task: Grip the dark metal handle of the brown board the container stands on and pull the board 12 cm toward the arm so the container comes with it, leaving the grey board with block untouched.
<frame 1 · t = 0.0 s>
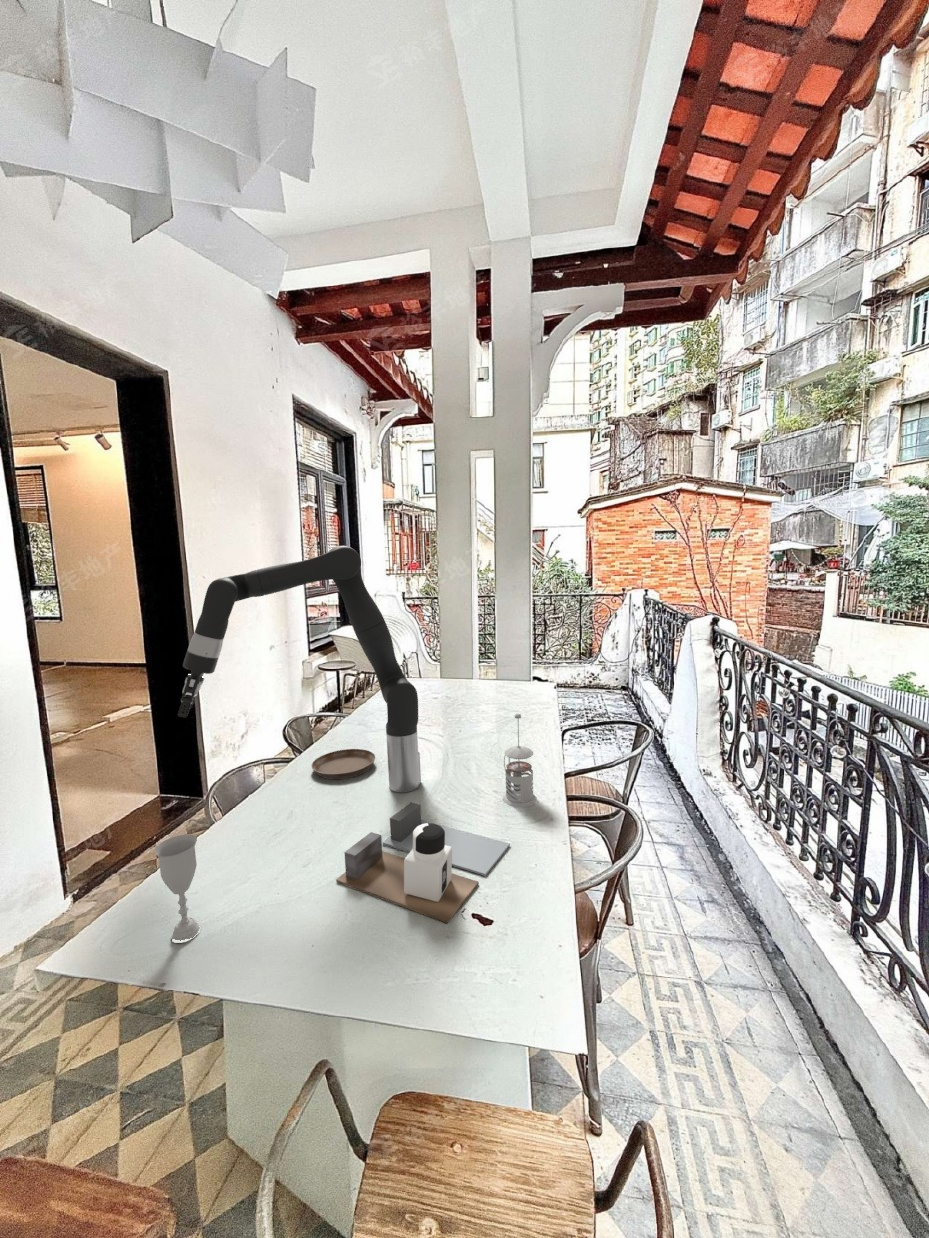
hand: (184, 712, 132), 31 cm above the table, tool tilted 20°, fingers open, 8 cm apart
chalice: (186, 934, 97), on the table
plant saucer: (344, 770, 171), on the table
brown board: (406, 869, 109), point 3 cm above the table, slide at 0.1 cm, touching container
french press: (518, 798, 147), on the table
grey board with block: (445, 833, 123), point 3 cm above the table, slide at 0.0 cm
container: (428, 887, 107), point 1 cm above the table, touching brown board
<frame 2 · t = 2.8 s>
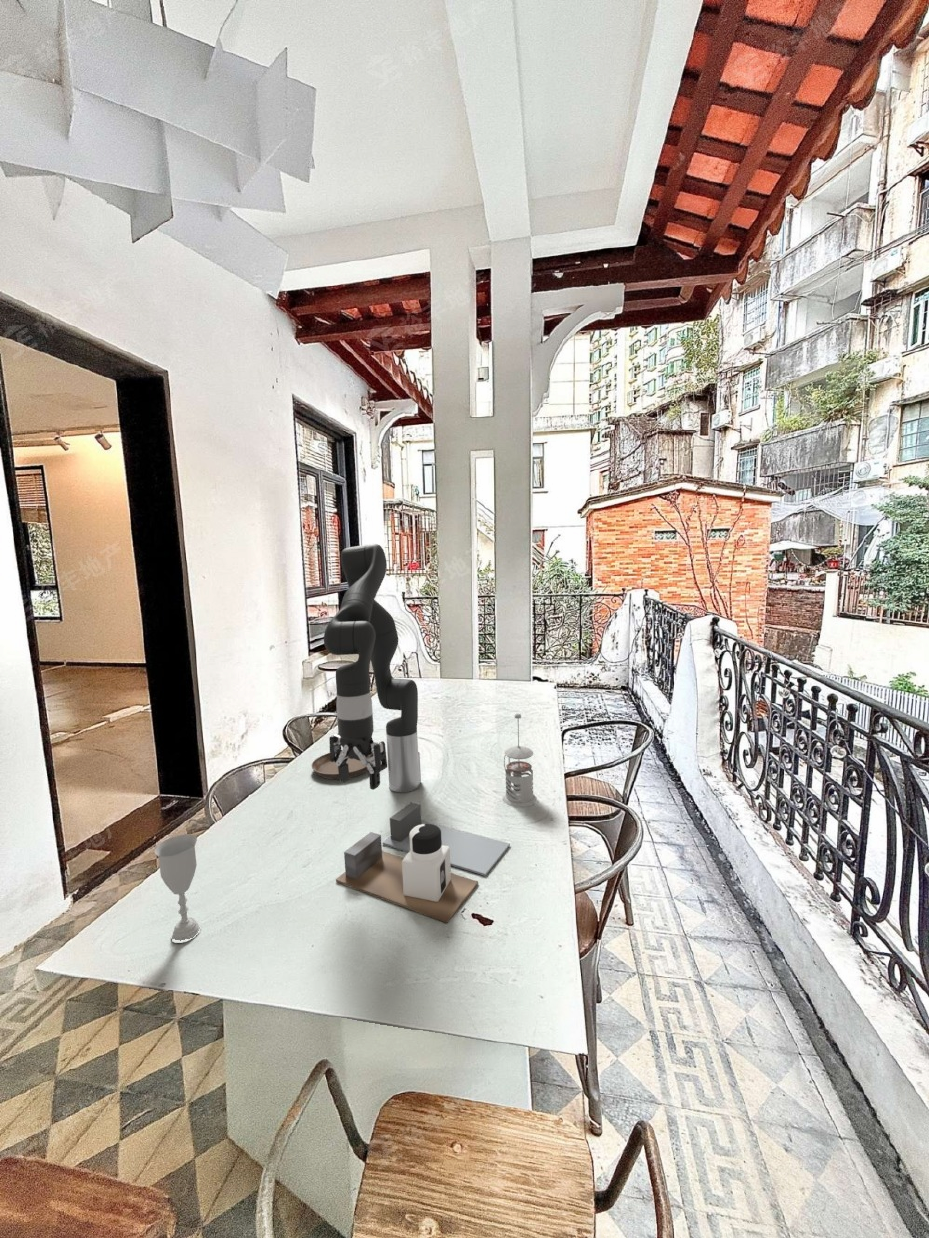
hand: (359, 784, 113), 20 cm above the table, tool pointing down, fingers open, 8 cm apart
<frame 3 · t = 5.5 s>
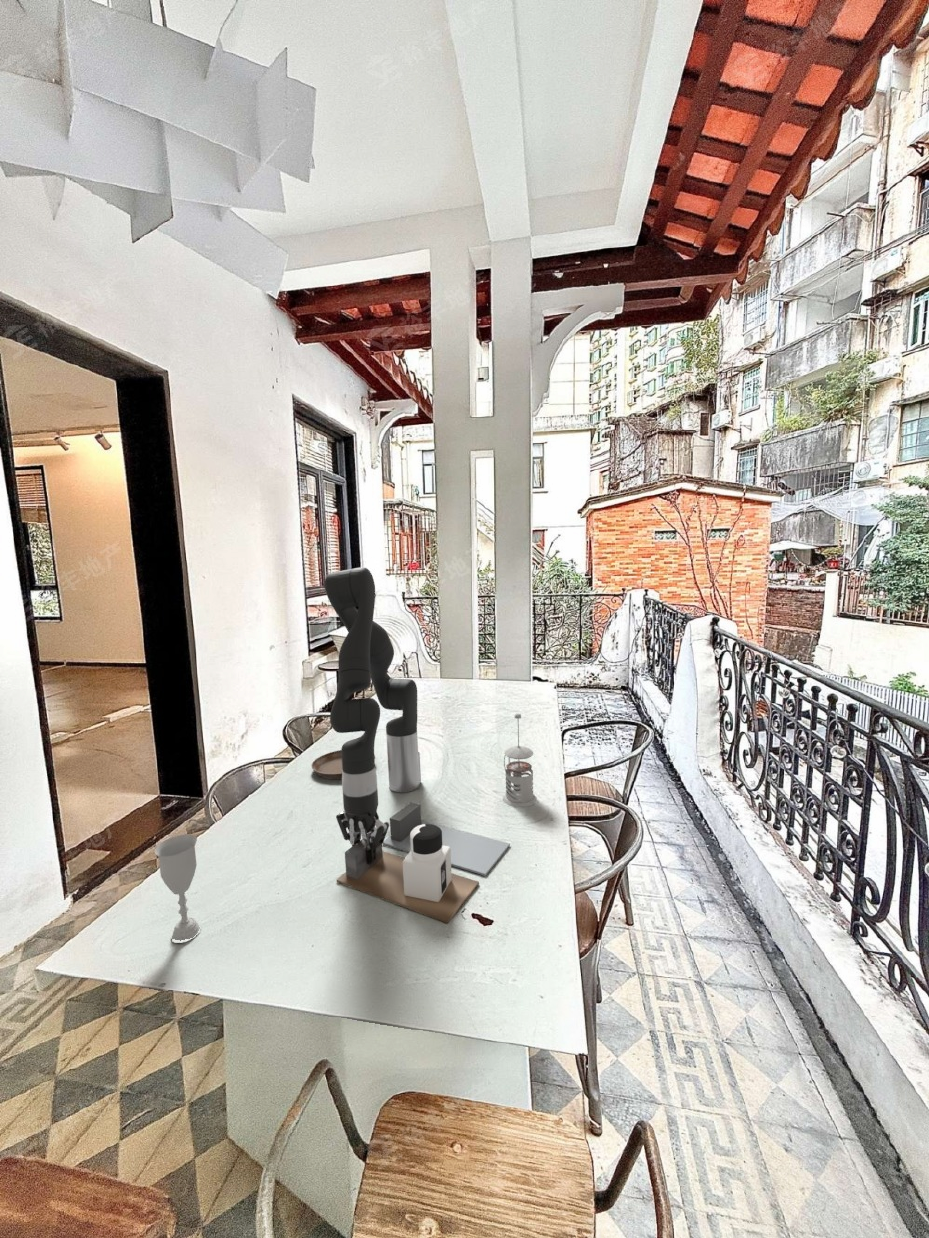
hand: (364, 860, 115), 2 cm above the table, tool pointing down, fingers closed on brown board, 3 cm apart
brown board: (406, 869, 109), point 3 cm above the table, slide at 0.0 cm, touching container, gripper
everything else where it was.
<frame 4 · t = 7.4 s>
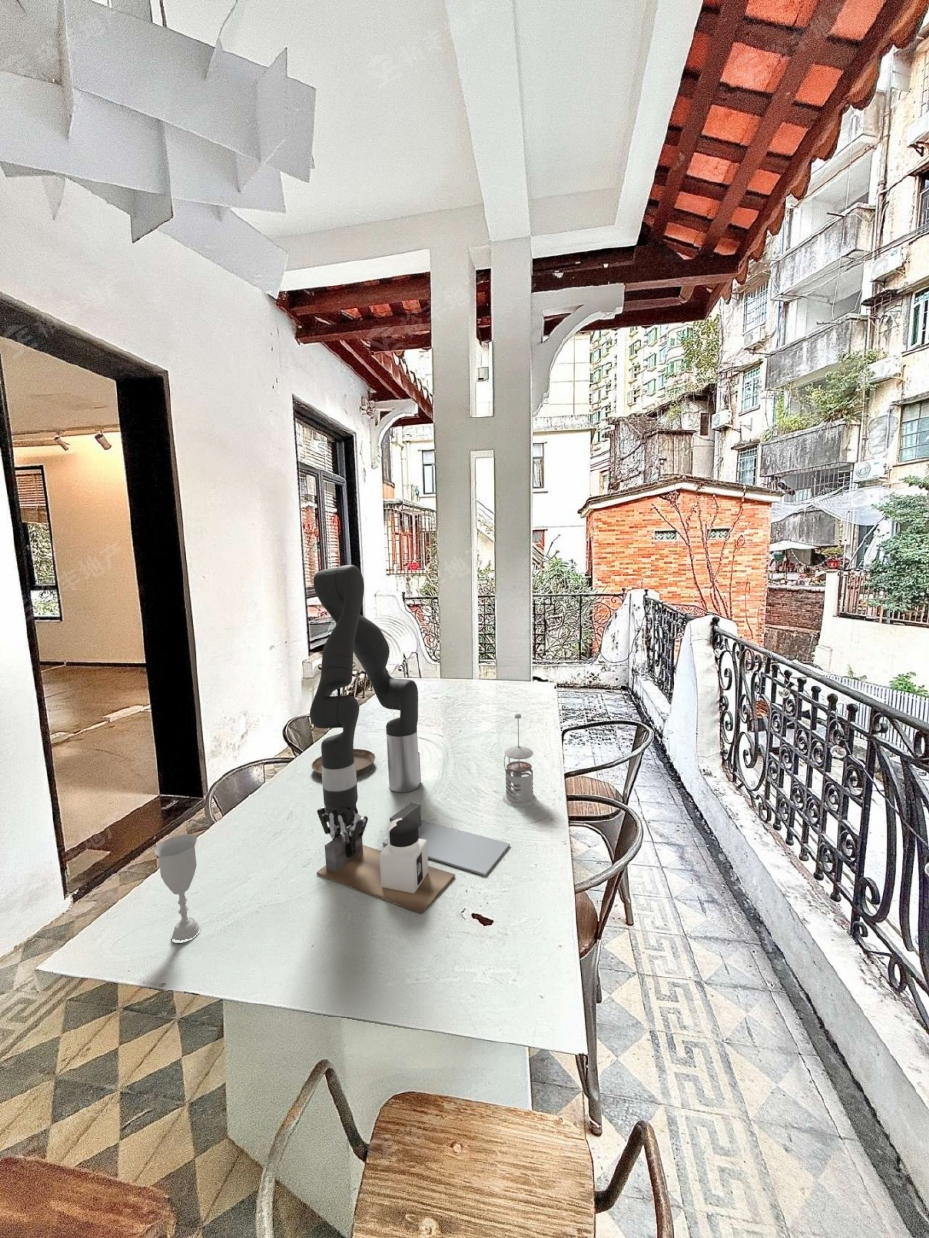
hand: (344, 853, 118), 2 cm above the table, tool pointing down, fingers closed on brown board, 3 cm apart
brown board: (384, 862, 112), point 3 cm above the table, slide at 5.9 cm, touching container, gripper
container: (405, 880, 110), resting on brown board
everything else where it was.
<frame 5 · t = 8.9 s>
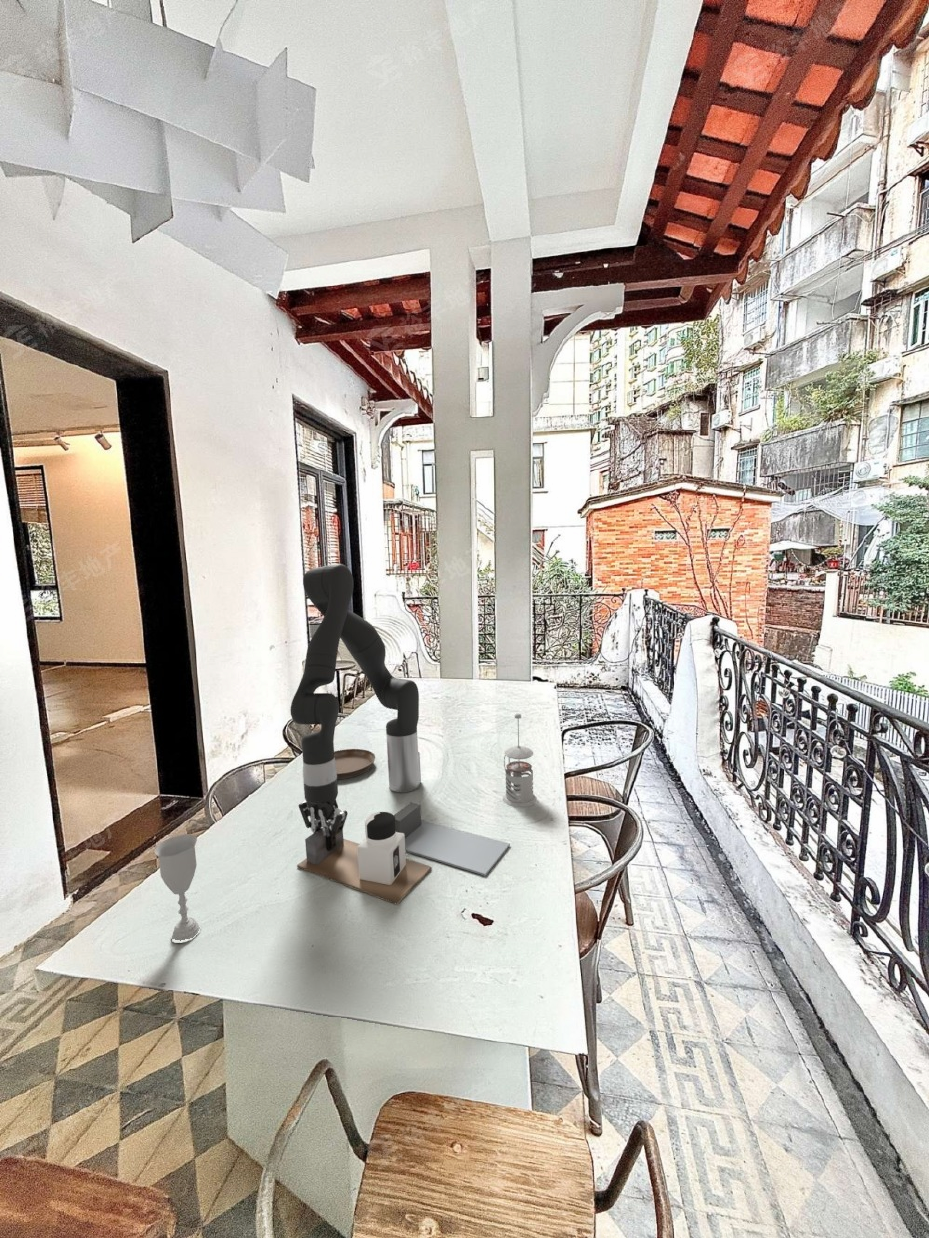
hand: (325, 846, 121), 2 cm above the table, tool pointing down, fingers closed on brown board, 3 cm apart
brown board: (363, 855, 115), point 3 cm above the table, slide at 11.9 cm, touching container, gripper
container: (383, 873, 113), resting on brown board
everything else where it was.
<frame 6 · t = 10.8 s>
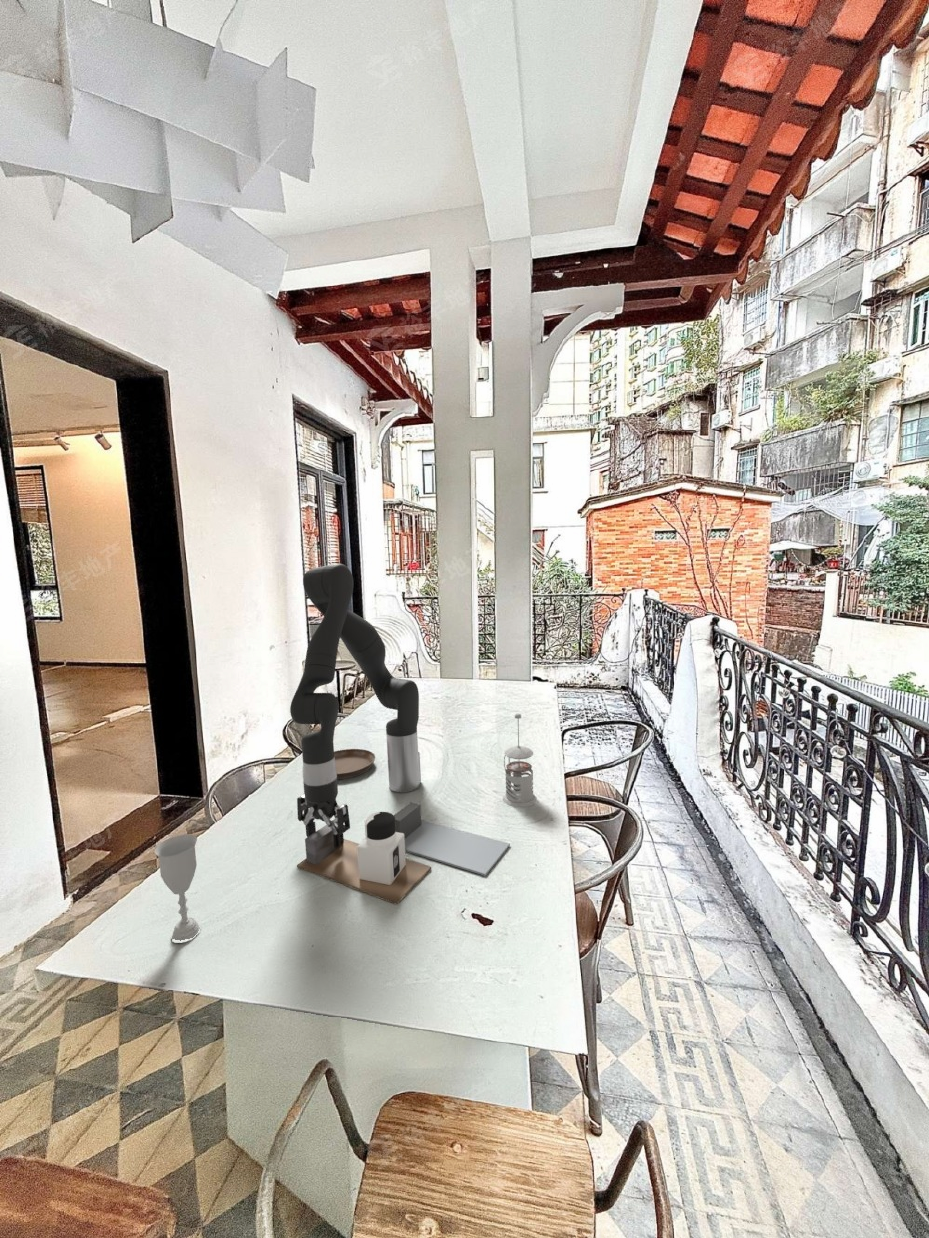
hand: (324, 842, 121), 3 cm above the table, tool pointing down, fingers open, 8 cm apart
brown board: (362, 855, 115), point 3 cm above the table, slide at 12.0 cm, touching container
everything else where it was.
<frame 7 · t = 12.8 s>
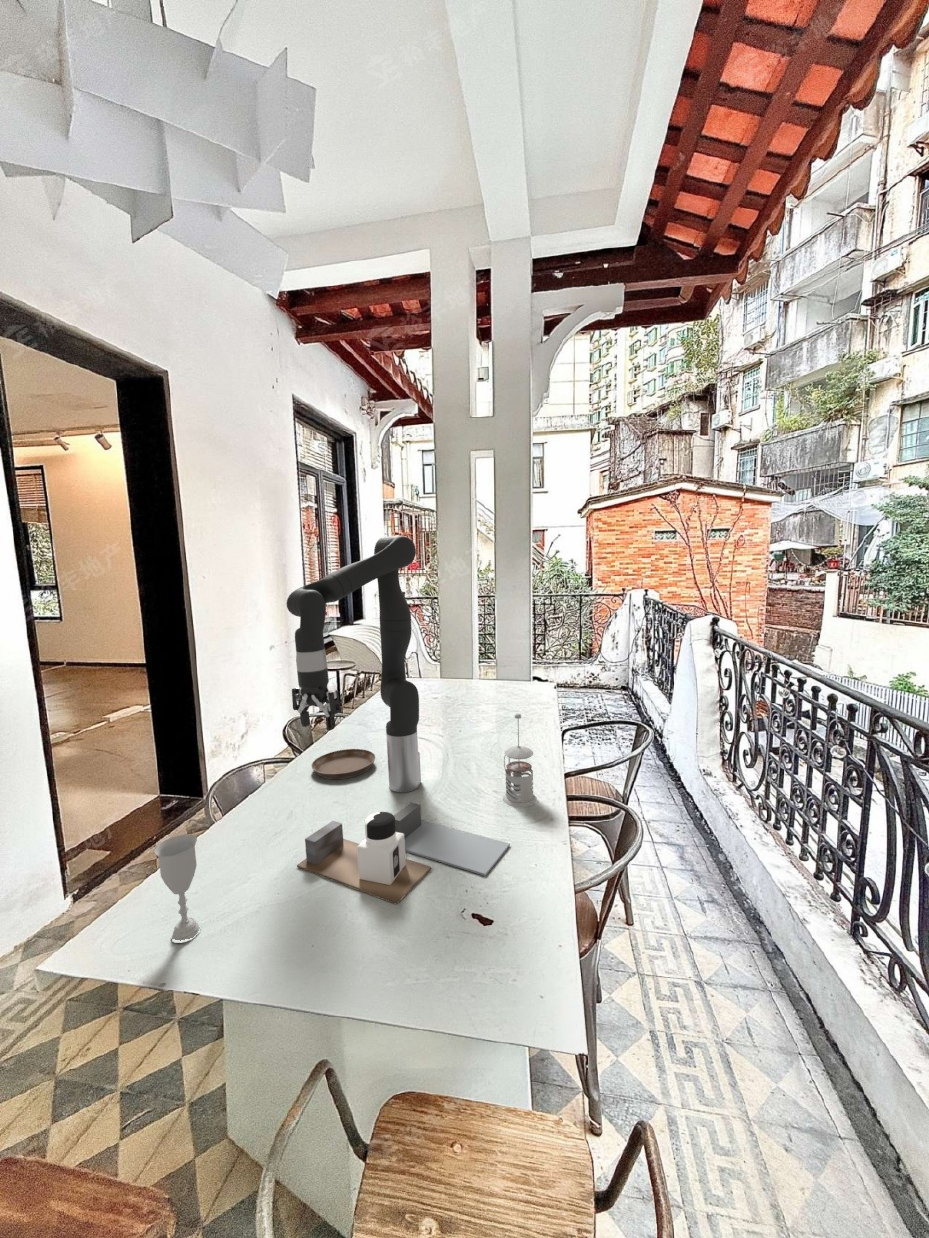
hand: (318, 727, 134), 26 cm above the table, tool pointing down, fingers open, 8 cm apart
nothing on the table moved.
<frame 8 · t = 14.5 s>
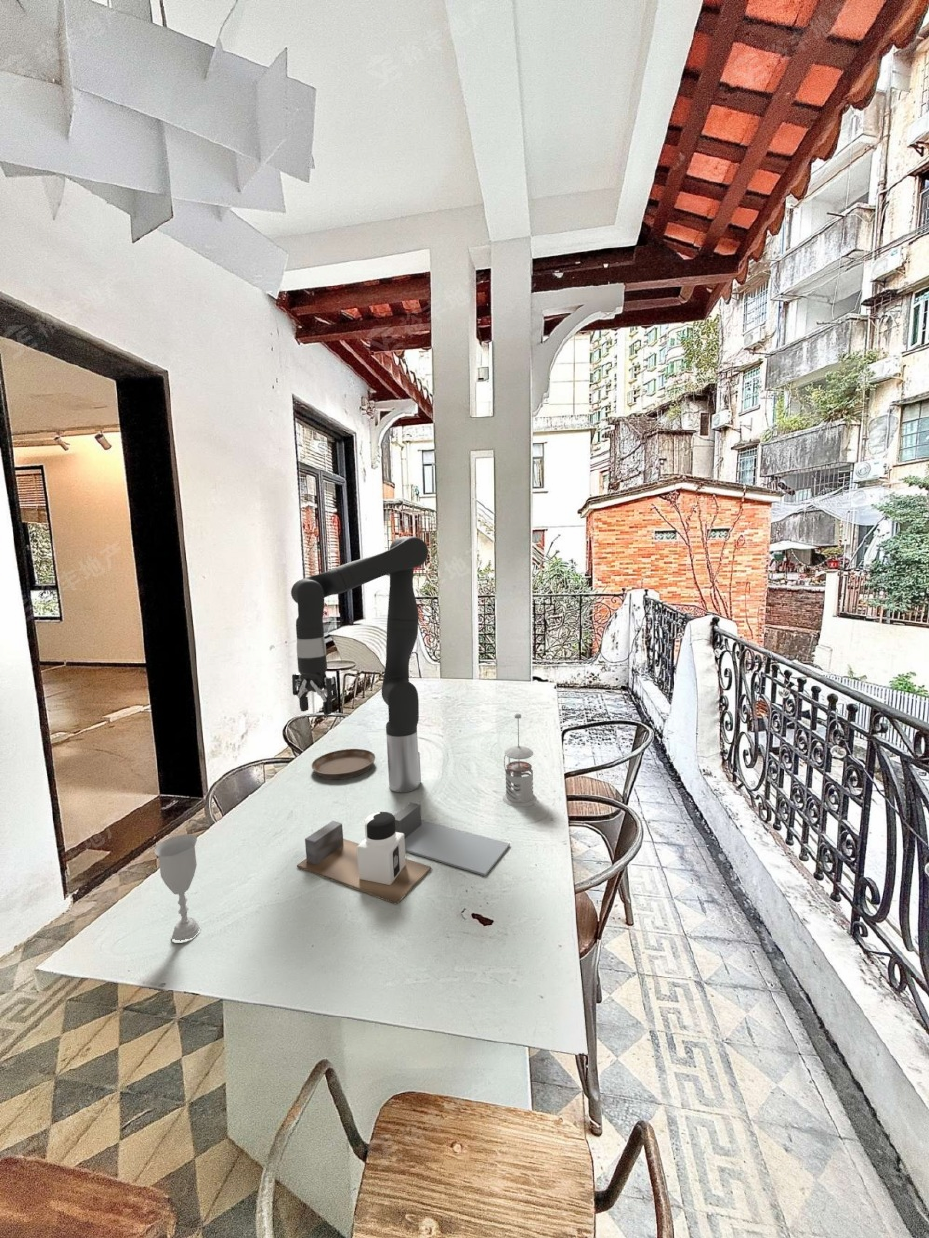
hand: (316, 712, 139), 28 cm above the table, tool pointing down, fingers open, 8 cm apart
nothing on the table moved.
at the end: brown board slide at 12.0 cm; container inside the target area (1.0 cm from its centre), resting on brown board; container tilted 0° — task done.
